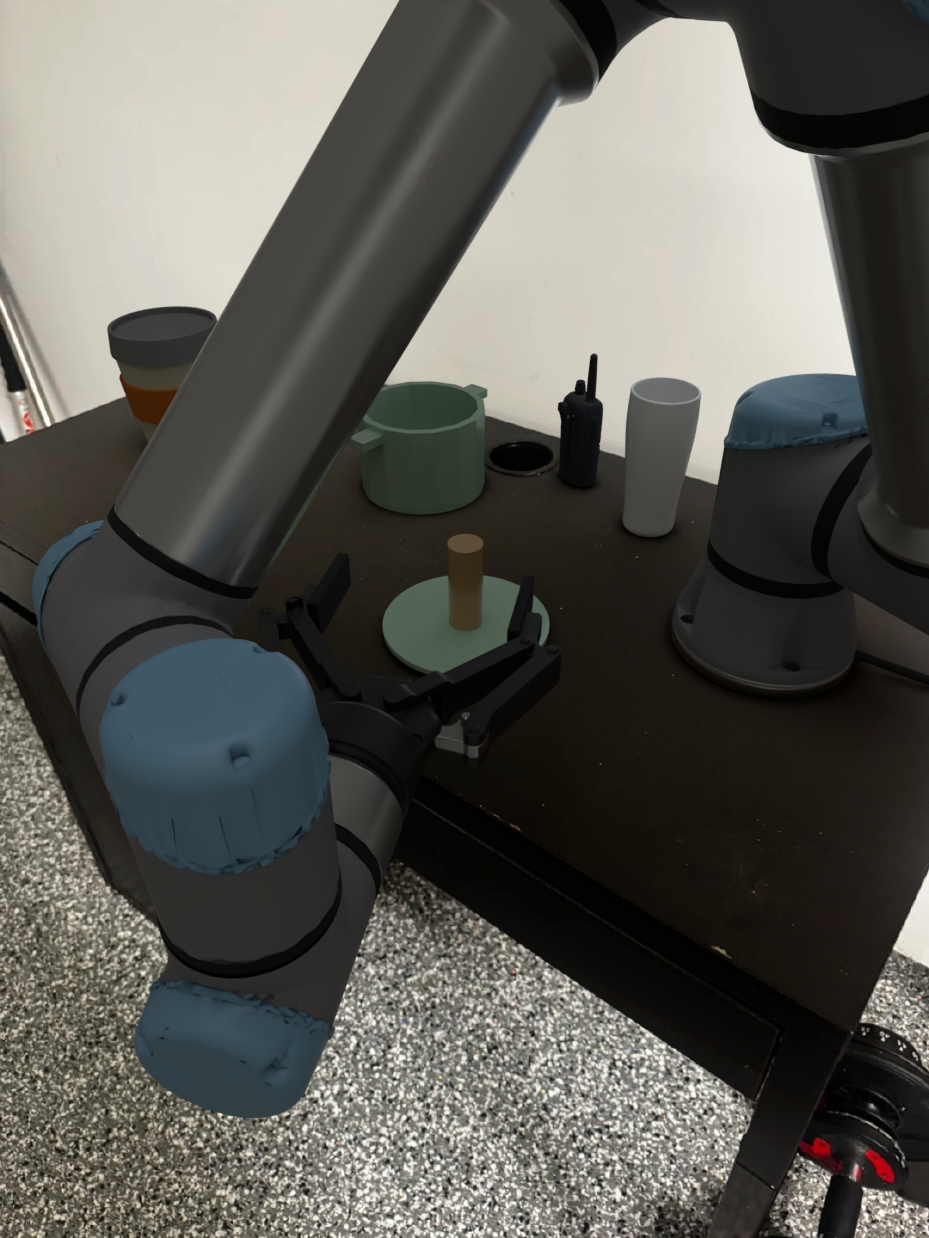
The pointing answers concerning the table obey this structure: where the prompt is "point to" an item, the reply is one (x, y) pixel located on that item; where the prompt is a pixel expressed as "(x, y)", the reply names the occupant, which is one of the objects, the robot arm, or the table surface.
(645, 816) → the table surface
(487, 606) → the lid
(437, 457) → the pot
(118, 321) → the reusable coffee cup
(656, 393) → the drinking glass
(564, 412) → the two-way radio
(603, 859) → the table surface
